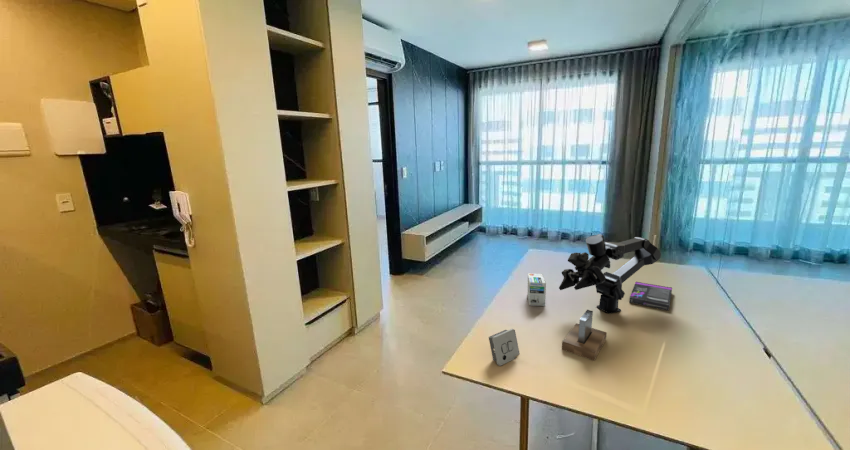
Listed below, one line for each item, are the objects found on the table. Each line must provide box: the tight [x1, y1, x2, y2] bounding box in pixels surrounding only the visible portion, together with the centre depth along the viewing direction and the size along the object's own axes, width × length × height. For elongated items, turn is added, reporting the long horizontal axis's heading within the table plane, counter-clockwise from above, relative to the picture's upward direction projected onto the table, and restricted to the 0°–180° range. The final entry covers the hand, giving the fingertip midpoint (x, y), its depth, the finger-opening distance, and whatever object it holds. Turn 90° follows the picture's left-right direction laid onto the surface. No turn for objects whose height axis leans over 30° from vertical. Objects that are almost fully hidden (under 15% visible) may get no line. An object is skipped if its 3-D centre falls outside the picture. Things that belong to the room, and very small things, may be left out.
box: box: [629, 281, 673, 312], centre depth 145 cm, size 14×4×20 cm
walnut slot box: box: [561, 323, 608, 361], centre depth 113 cm, size 14×10×4 cm
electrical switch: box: [488, 328, 520, 366], centre depth 109 cm, size 9×5×9 cm, turn 121°
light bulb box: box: [526, 272, 547, 307], centre depth 146 cm, size 11×7×11 cm, turn 168°
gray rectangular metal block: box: [578, 309, 594, 344], centre depth 112 cm, size 8×2×11 cm, turn 139°
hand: (567, 288), depth 123 cm, fingers open, 9 cm apart
